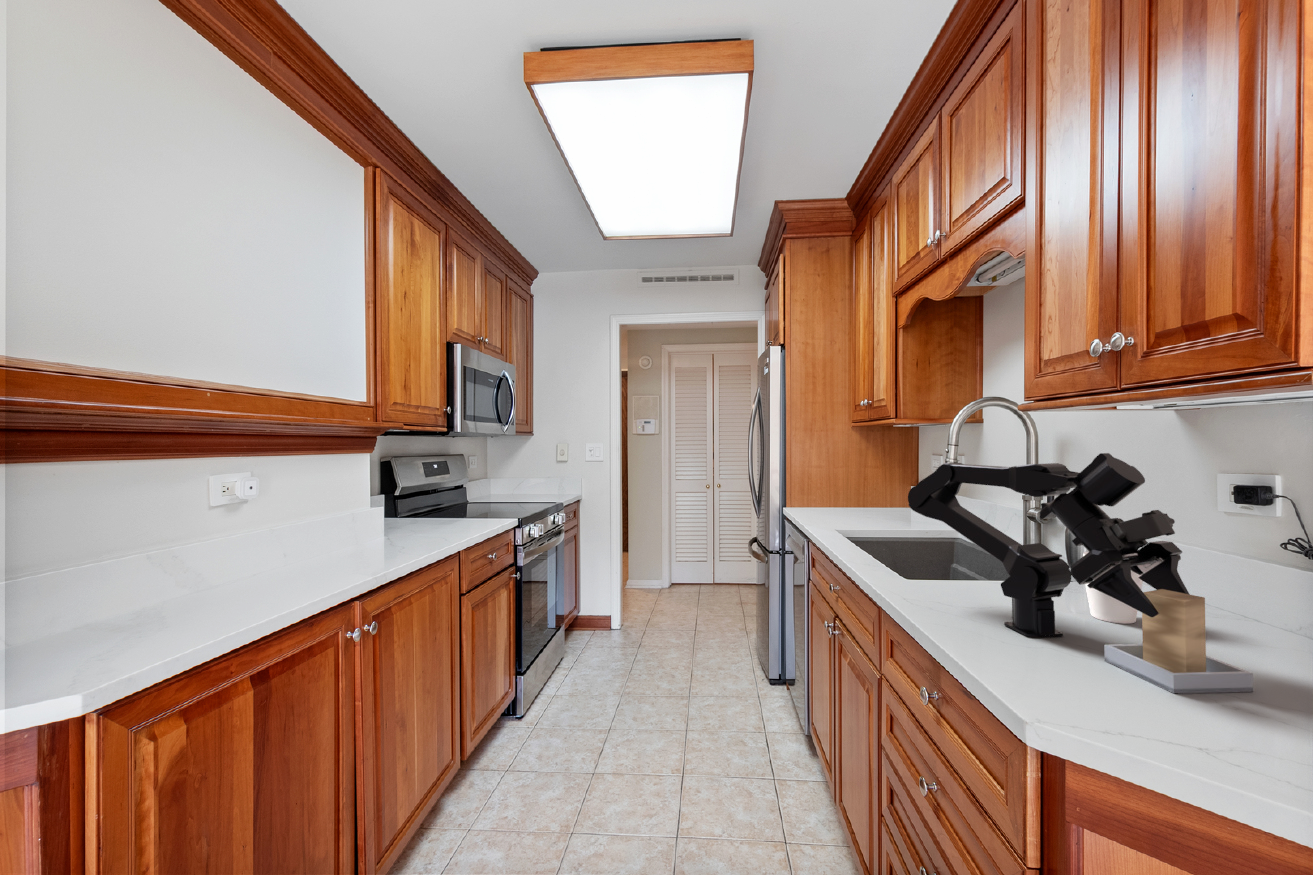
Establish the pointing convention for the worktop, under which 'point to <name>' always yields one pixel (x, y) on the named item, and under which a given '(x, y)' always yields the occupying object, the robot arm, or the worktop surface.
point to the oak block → (1175, 632)
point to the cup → (1111, 604)
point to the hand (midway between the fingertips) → (1174, 611)
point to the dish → (1211, 681)
